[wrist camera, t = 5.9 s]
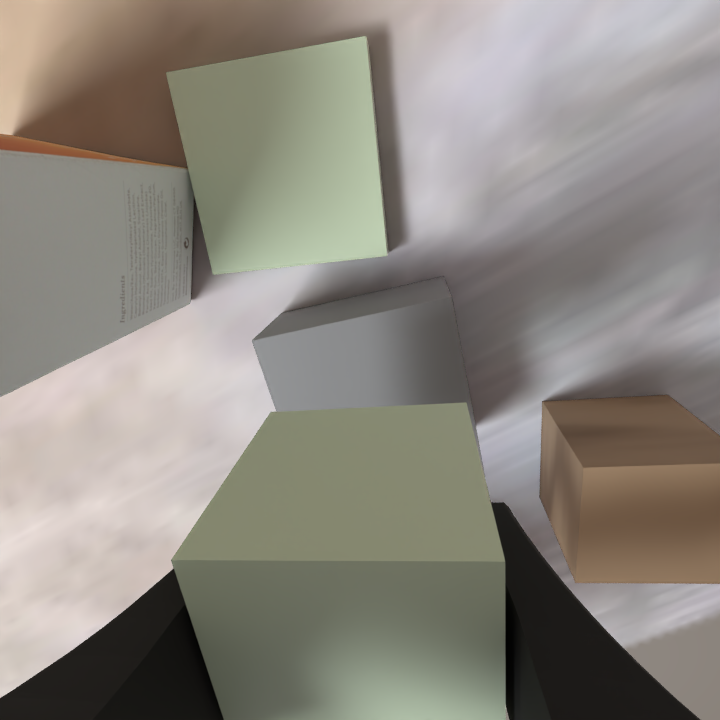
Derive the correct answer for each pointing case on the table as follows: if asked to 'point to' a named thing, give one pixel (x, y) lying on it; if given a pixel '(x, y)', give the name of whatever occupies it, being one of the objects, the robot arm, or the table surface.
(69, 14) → the table surface
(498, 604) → the sage green block
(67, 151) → the small box
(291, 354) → the charcoal base block
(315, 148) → the sage green tile
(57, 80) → the table surface
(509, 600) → the robot arm
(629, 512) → the walnut block
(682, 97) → the table surface
